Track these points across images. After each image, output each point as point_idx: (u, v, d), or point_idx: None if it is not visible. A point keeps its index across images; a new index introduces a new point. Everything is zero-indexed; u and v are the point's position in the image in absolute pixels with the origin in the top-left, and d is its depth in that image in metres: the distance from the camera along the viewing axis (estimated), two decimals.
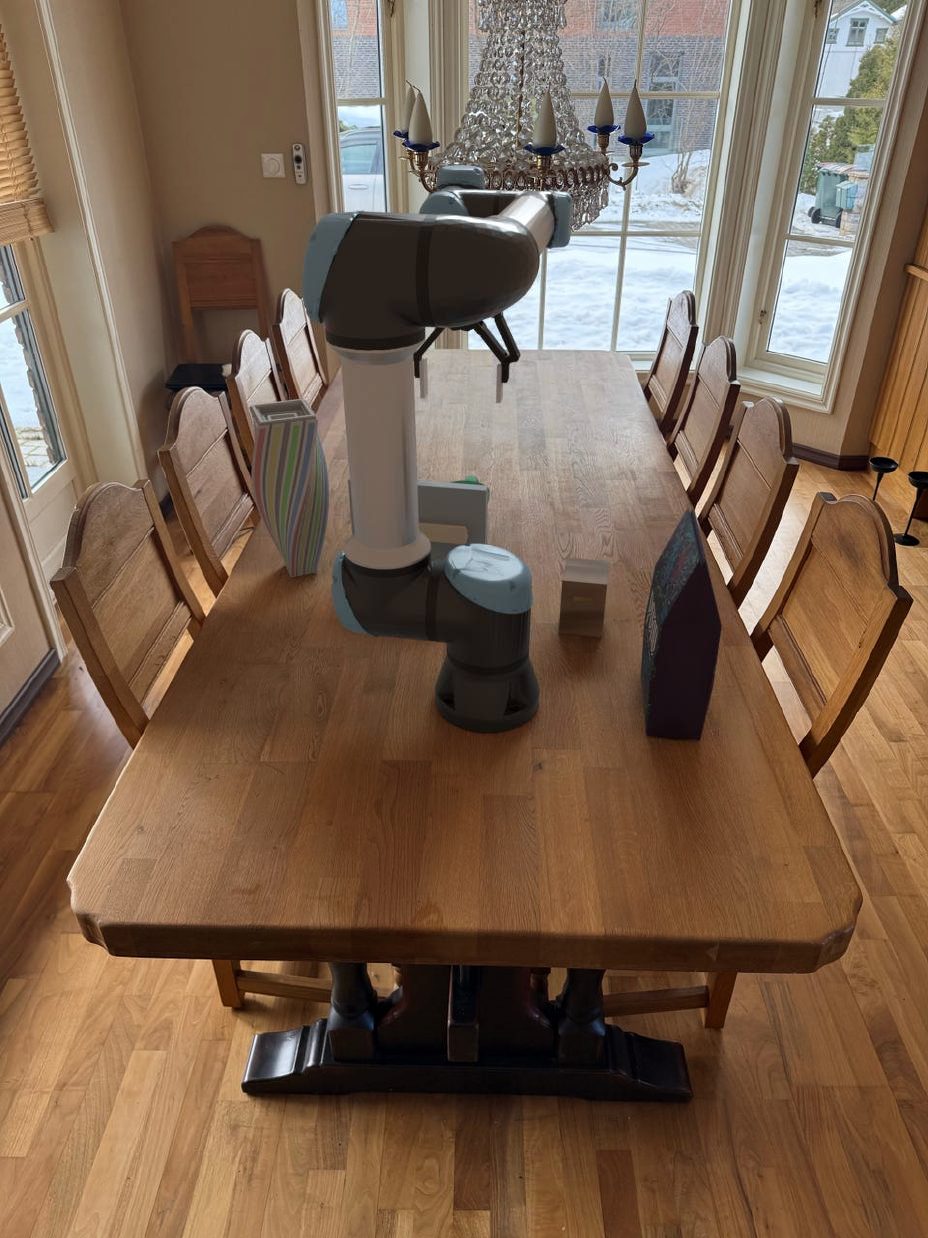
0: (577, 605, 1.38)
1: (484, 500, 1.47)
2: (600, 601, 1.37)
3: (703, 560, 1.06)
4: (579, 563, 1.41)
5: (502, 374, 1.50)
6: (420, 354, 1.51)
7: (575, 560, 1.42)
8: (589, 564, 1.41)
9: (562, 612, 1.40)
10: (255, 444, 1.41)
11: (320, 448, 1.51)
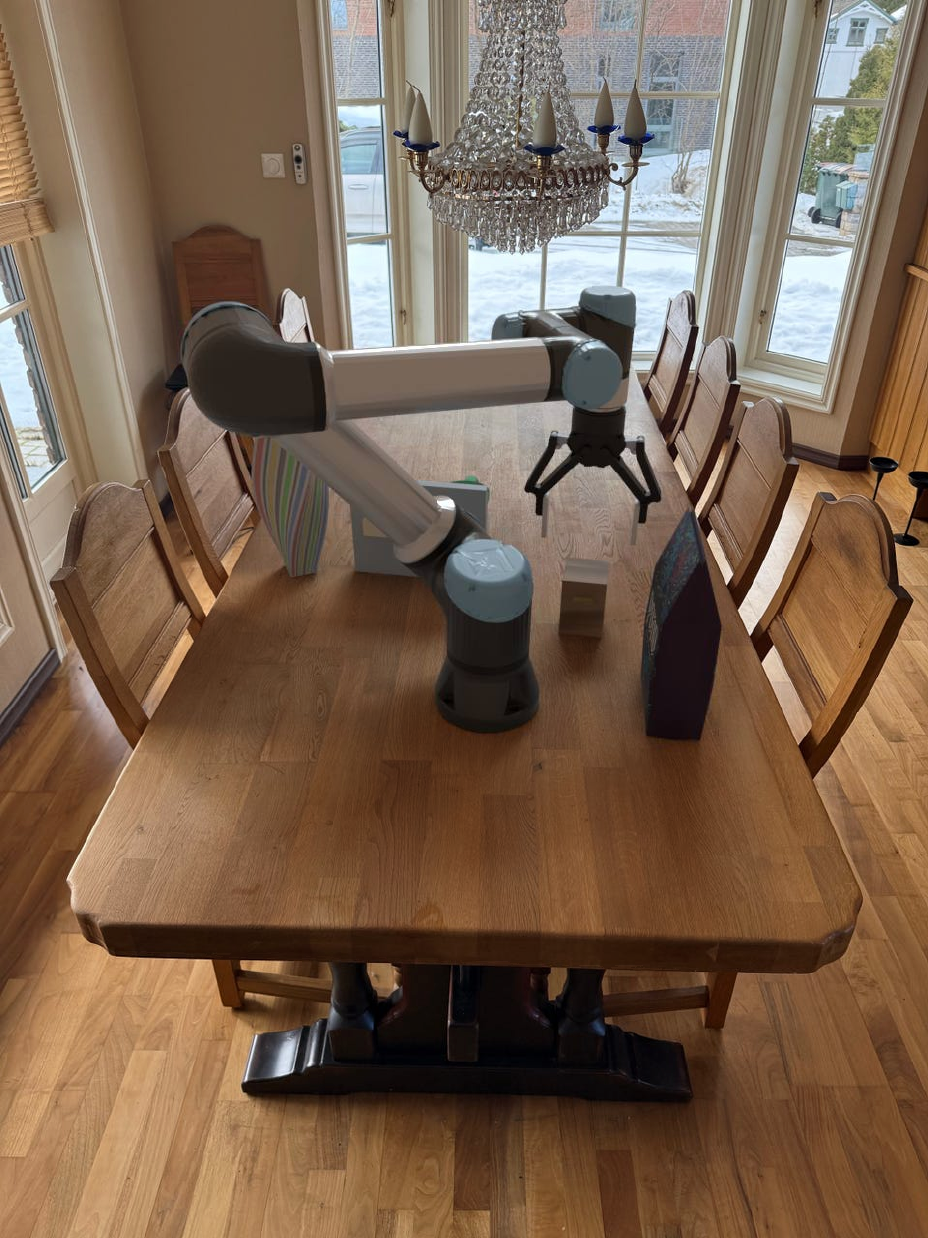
0: (577, 605, 1.38)
1: (484, 500, 1.47)
2: (600, 601, 1.37)
3: (703, 560, 1.06)
4: (579, 563, 1.41)
5: (640, 514, 1.30)
6: (545, 491, 1.31)
7: (575, 560, 1.42)
8: (589, 564, 1.41)
9: (562, 612, 1.40)
10: (255, 444, 1.41)
11: None
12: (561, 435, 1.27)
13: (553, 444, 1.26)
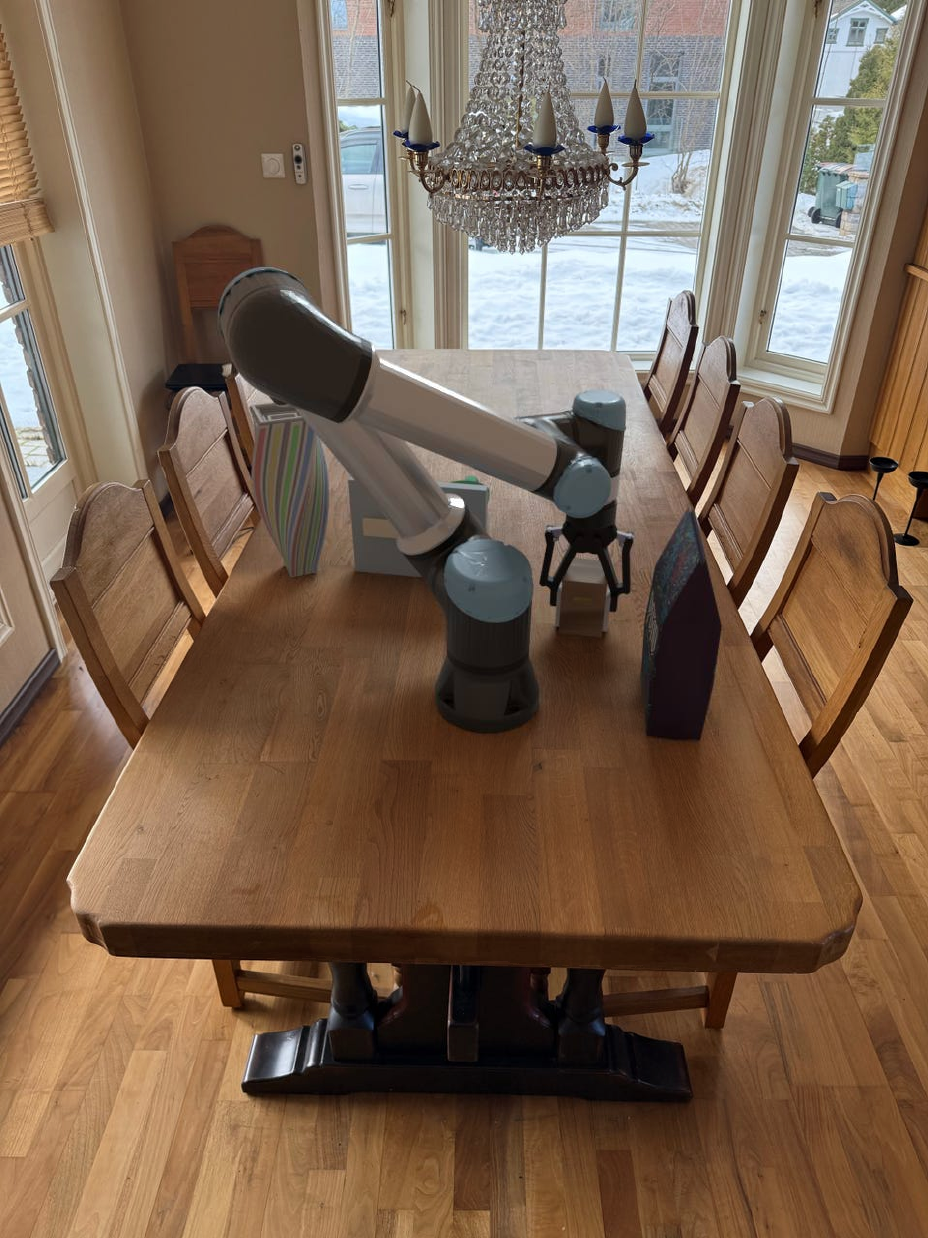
0: (577, 605, 1.38)
1: (484, 500, 1.47)
2: (600, 601, 1.37)
3: (703, 560, 1.06)
4: (579, 563, 1.41)
5: (611, 604, 1.39)
6: (557, 584, 1.39)
7: (575, 560, 1.42)
8: (589, 564, 1.41)
9: (562, 612, 1.40)
10: (255, 444, 1.41)
11: (320, 448, 1.51)
12: (555, 528, 1.35)
13: (550, 538, 1.34)
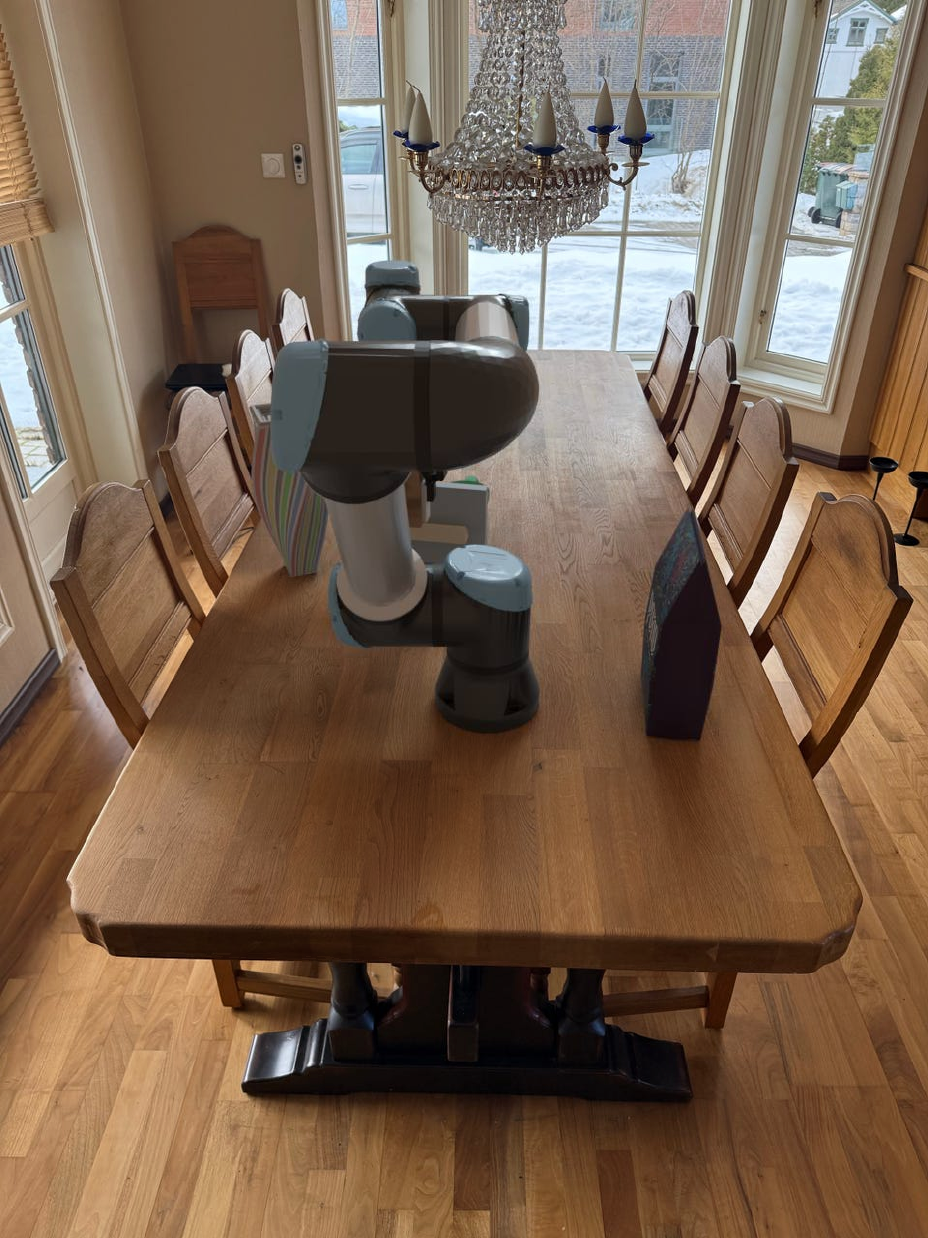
0: None
1: (484, 500, 1.47)
2: (414, 487, 1.34)
3: (703, 560, 1.06)
4: None
5: (427, 492, 1.36)
6: None
7: None
8: None
9: None
10: (255, 444, 1.41)
11: None
12: None
13: None
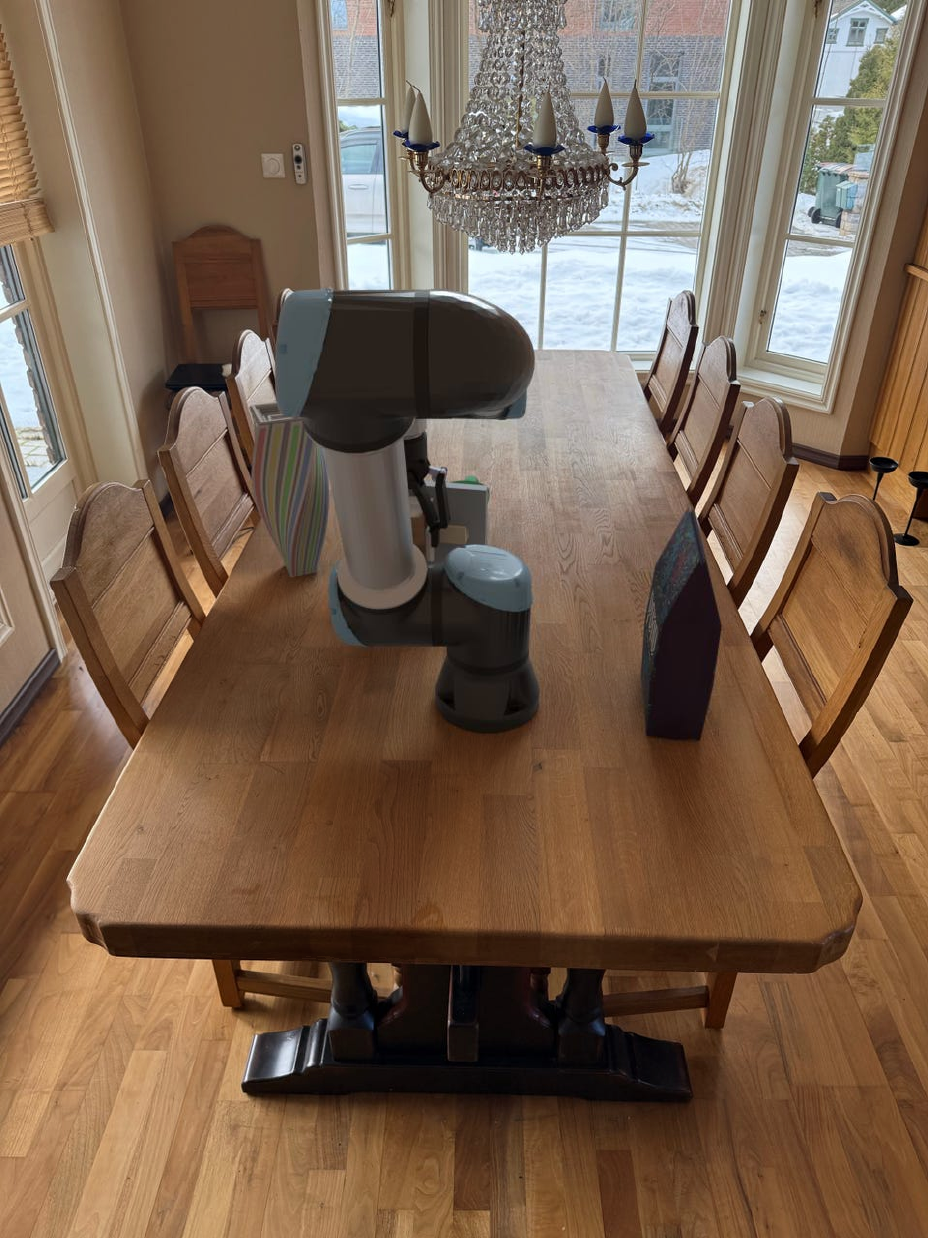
0: None
1: (484, 500, 1.47)
2: (419, 535, 1.42)
3: (703, 560, 1.06)
4: None
5: (432, 539, 1.44)
6: None
7: None
8: (413, 501, 1.45)
9: None
10: (255, 444, 1.41)
11: (320, 448, 1.51)
12: None
13: None
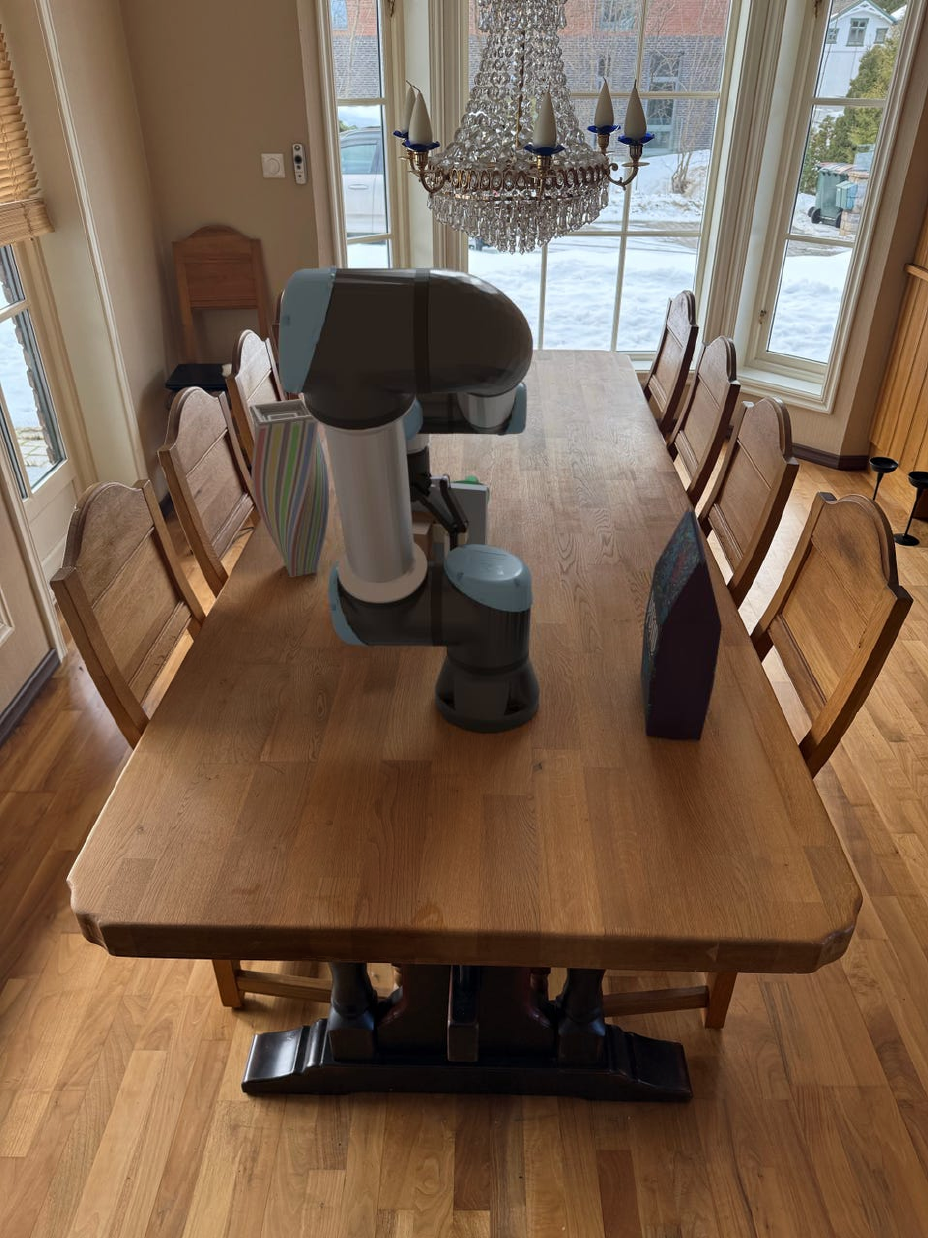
0: None
1: (484, 500, 1.47)
2: (422, 550, 1.45)
3: (703, 560, 1.06)
4: None
5: (450, 543, 1.45)
6: None
7: None
8: (415, 515, 1.48)
9: None
10: (255, 444, 1.41)
11: (320, 448, 1.51)
12: None
13: None
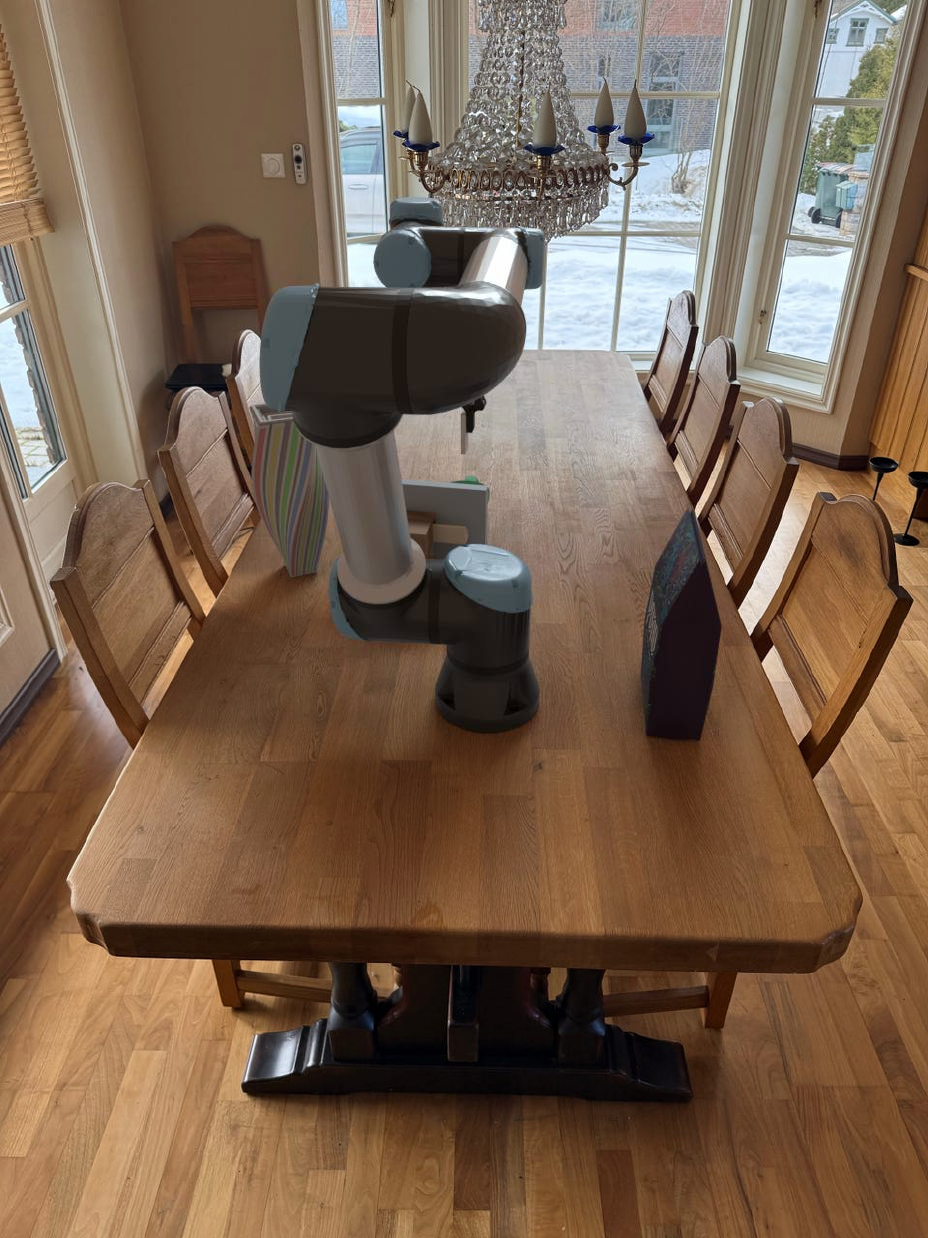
0: None
1: (484, 500, 1.47)
2: (422, 550, 1.45)
3: (703, 560, 1.06)
4: None
5: (467, 423, 1.37)
6: None
7: None
8: (415, 515, 1.48)
9: None
10: (255, 444, 1.41)
11: None
12: None
13: None
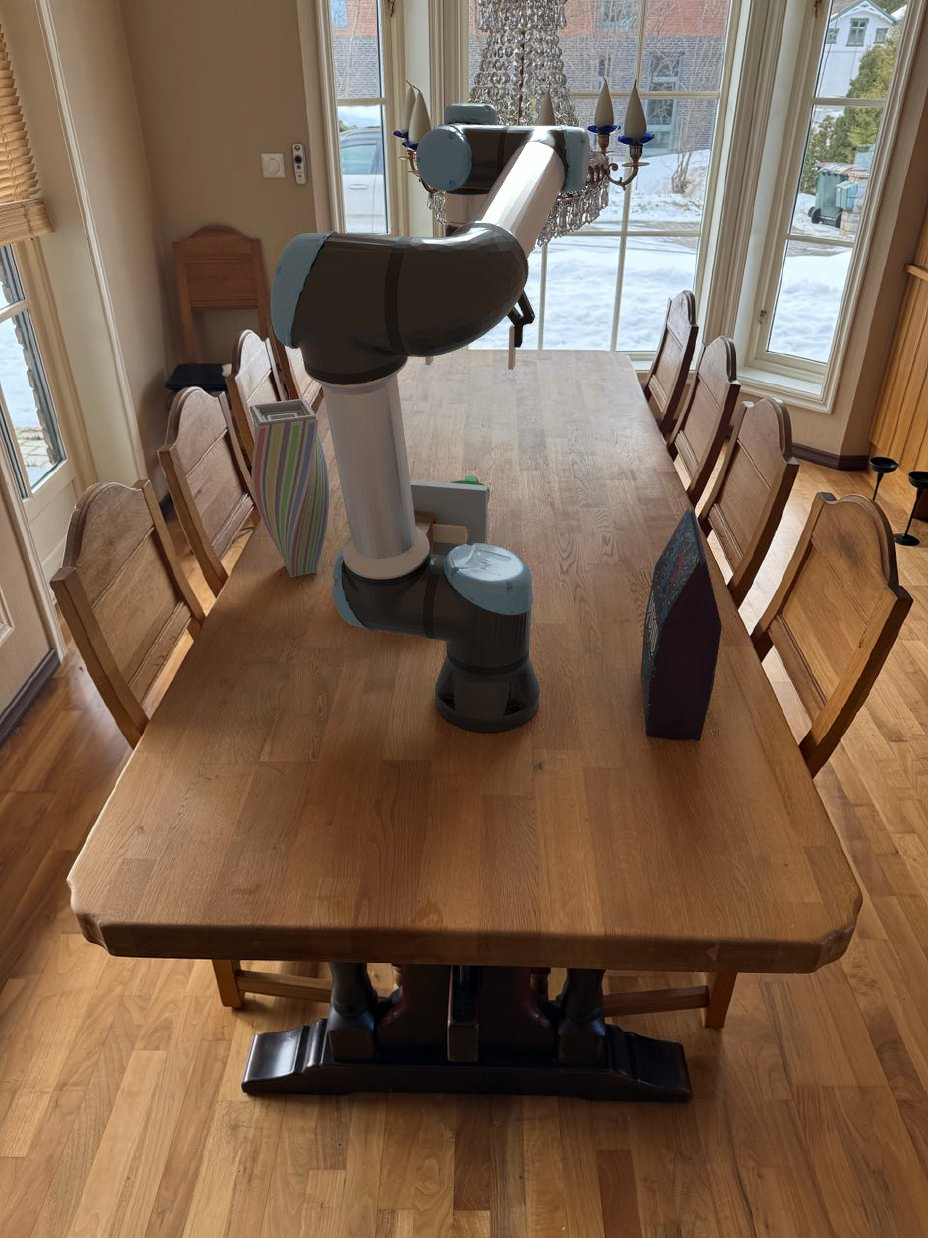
0: None
1: (484, 500, 1.47)
2: None
3: (703, 560, 1.06)
4: None
5: (515, 337, 1.38)
6: None
7: None
8: (415, 515, 1.48)
9: None
10: (255, 444, 1.41)
11: (320, 448, 1.51)
12: None
13: None
